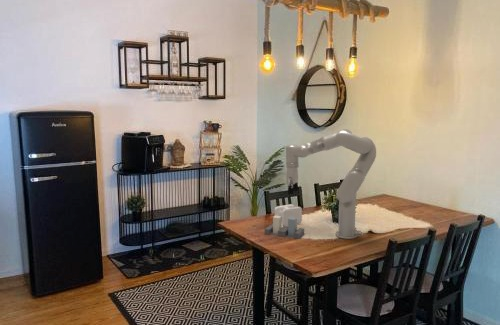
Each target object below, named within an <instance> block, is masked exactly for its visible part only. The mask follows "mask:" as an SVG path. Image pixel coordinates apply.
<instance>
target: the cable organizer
mask: <svg viewBox="0 0 500 325" xmlns="http://www.w3.org/2000/svg"><path fill="white" fill-rule="evenodd" d="M274 216H282V226H288V219H289V218H290V217H292V218H297V225H300V224H302V221H303V208H302V207H301V206H295V205H294V204H293V203H292V204H291V203H290V204H285V205H277V206H275V207H274Z"/></svg>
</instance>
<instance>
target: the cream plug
mask: <svg viewBox="0 0 500 325" xmlns="http://www.w3.org/2000/svg"><path fill="white" fill-rule="evenodd" d="M272 224H273V233H275V234H278V230H280V229H281V228H282V227H283V224H282V216H275V215H274V216H272Z"/></svg>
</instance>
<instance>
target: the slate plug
mask: <svg viewBox="0 0 500 325" xmlns="http://www.w3.org/2000/svg"><path fill="white" fill-rule="evenodd" d="M287 226H288V235H289V236H294V233H295V232H296V231H297V230H298V228H297V227H298V224H297V218H292V217H290V218H289V219H288V225H287Z"/></svg>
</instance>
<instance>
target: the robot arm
mask: <svg viewBox="0 0 500 325" xmlns="http://www.w3.org/2000/svg"><path fill="white" fill-rule="evenodd" d="M339 147H343V148H345V149H347V150H350V151H353V152H354V153H356V154H360V155H359V156H358V158H357V160H356V162H355V164H354V165H353V167H352V168H351V170H349V172H348V173H347V174H346V176H345V177H344V179H343V181H342V182H341V184H340V186H339V187H338V189H337V191H336V199H337V200H338V201H339V202H338V231H336V232H335V236H336V237H338V238H340V239H345V240H352V239H355V238H358V236H363V231H361V230H357V228H356V205H357V203H356V202H357V192H358V191H359V189H360V188H361V186H362V185H363V183H364V182H365V179H366V176H367V174H368V173H369V171H370V170H371V168H372V166H373V164H374V163H375V160H376V158H377V148H376V145H375V143H374V141H373V140H372V139H371V138H369V137H368V136H365V137H364V136H363V137H360V136H358V135H355V134H353V133H352V131H351V130H350V129H342V130H338V131H335V132H333V133H330V134H327V135H324V136H322V137H320V138H318V139H315V140H312V141H309V142H307V143H303V144H301V145H298V144H297V145H296V144H287V145H286V146H285V163H286V164H285V166H286V177H285V178H286V180H285V182H286V183H285V184H287V194H288V195H294V191H295V192H298V191H299V169H298V168H299V167H300V166H299V158H300V159H301V158H303V159H304V158H307V157H308V156H310V155H311V156H312V155H313V154H316V153H319V152H325V151H329V150H333V149H336V148H339Z"/></svg>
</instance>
